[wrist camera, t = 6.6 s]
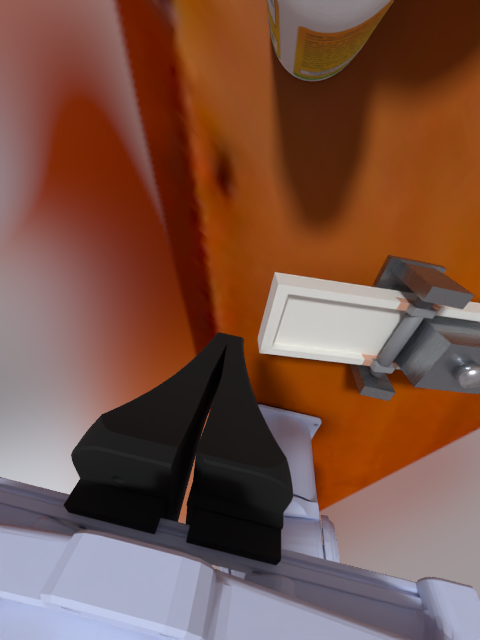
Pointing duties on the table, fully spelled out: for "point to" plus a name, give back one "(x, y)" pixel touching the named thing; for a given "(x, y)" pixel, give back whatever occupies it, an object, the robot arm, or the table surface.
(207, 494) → the robot arm
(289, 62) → the supplement bottle
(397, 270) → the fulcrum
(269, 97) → the table surface
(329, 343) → the beam
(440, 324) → the block
